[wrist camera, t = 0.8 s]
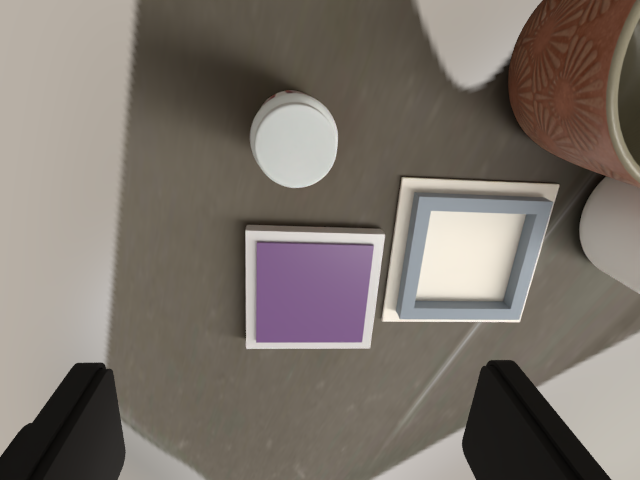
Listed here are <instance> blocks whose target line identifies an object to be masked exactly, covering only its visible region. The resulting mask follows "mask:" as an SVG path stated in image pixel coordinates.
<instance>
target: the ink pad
mask: <svg viewBox="0 0 640 480" xmlns="http://www.w3.org/2000/svg"><path fill="white" fill-rule="evenodd" d="M245 233H246V349H327V348H370V345H371V337H372V330H373V322H374V315H375V307H376V300H377V292H378V285H379V277H380V269H381V262H382V254H383V247H384V239H385V234H384V232H383V230H382V229H374V228H340V227H306V226H272V225H247V226H246V231H245Z"/></svg>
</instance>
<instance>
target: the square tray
mask: <svg viewBox="0 0 640 480" xmlns="http://www.w3.org/2000/svg"><path fill="white" fill-rule="evenodd" d="M558 189H559V184H551V183H528V182H505V181H482V180H459V179H436V178H413V177H402V178H401V185H400V192H399V199H398V206H397V213H396V220H395V228H394V235H393V242H392V249H391V256H390V263H389V270H388V277H387V284H386V291H385V299H384V306H383V313H382V321H398V322H520V319H521V316H522V312H523V309H524V306H525V302H526V299H527V295H528V292H529V288H530V285H531V281H532V278H533V275H534V271H535V268H536V264H537V261H538V257H539V254H540V251H541V247H542V244H543V240H544V237H545V233H546V230H547V226H548V223H549V220H550V216H551V213H552V209H553V206H554V202H555V199H556V196H557V192H558Z"/></svg>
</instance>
